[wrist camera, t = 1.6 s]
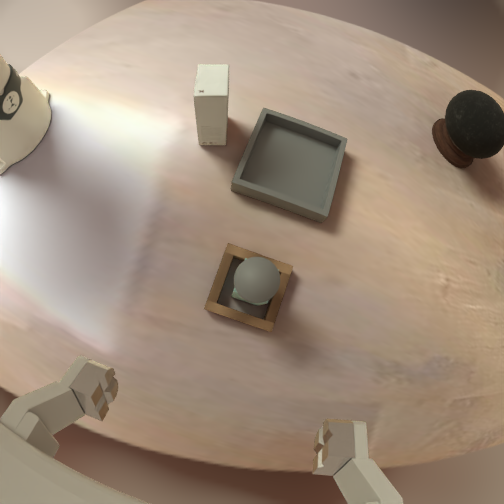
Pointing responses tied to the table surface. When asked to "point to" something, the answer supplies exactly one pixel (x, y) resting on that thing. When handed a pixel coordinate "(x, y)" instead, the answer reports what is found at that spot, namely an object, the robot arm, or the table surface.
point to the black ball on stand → (470, 128)
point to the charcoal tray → (291, 165)
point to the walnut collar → (212, 306)
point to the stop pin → (256, 281)
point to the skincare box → (211, 103)
